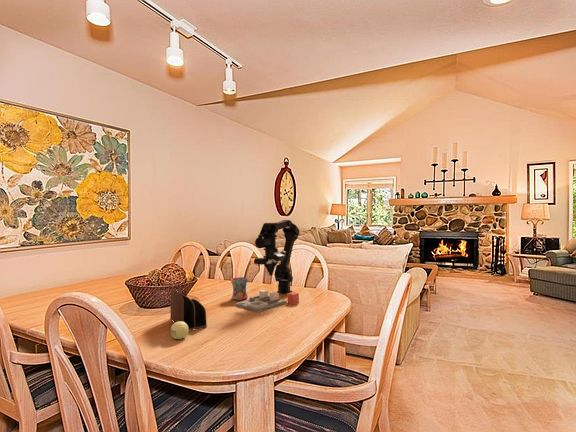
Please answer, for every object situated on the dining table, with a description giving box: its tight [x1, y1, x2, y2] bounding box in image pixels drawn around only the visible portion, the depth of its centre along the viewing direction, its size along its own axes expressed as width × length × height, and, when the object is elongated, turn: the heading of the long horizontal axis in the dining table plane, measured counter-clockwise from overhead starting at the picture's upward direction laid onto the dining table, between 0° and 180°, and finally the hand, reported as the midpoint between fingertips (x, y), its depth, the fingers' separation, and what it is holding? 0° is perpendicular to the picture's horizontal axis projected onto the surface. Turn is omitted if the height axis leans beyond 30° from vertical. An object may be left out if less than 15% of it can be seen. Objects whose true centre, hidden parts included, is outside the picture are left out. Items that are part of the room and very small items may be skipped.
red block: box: [286, 291, 300, 306], centre depth 168 cm, size 4×4×5 cm
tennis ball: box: [169, 321, 190, 340], centre depth 125 cm, size 6×7×7 cm
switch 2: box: [268, 291, 280, 301], centre depth 169 cm, size 3×4×4 cm
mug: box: [230, 276, 249, 301], centre depth 180 cm, size 12×9×11 cm
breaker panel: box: [235, 295, 288, 313], centre depth 167 cm, size 19×17×3 cm
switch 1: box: [258, 289, 269, 298], centre depth 175 cm, size 3×4×4 cm
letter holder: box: [170, 289, 208, 331], centre depth 141 cm, size 10×20×14 cm, turn 32°
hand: (271, 275), depth 179 cm, fingers closed
